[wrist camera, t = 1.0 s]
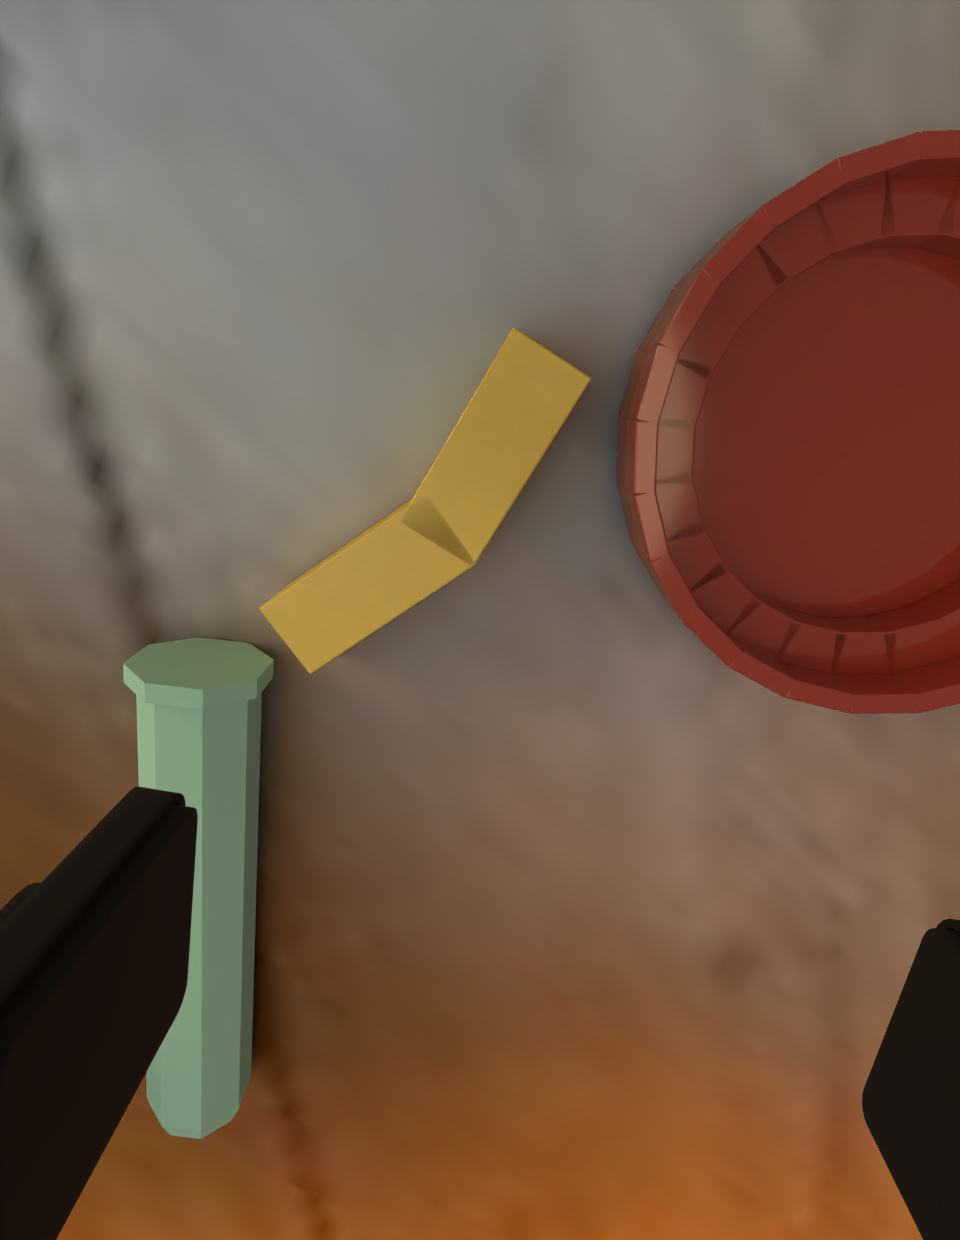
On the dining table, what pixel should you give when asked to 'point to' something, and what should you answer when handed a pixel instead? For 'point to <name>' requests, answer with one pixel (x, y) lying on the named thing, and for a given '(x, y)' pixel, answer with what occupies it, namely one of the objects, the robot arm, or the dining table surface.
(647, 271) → the dining table surface
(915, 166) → the bowl
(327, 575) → the banana
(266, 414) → the dining table surface
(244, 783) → the pale green faceted rod
